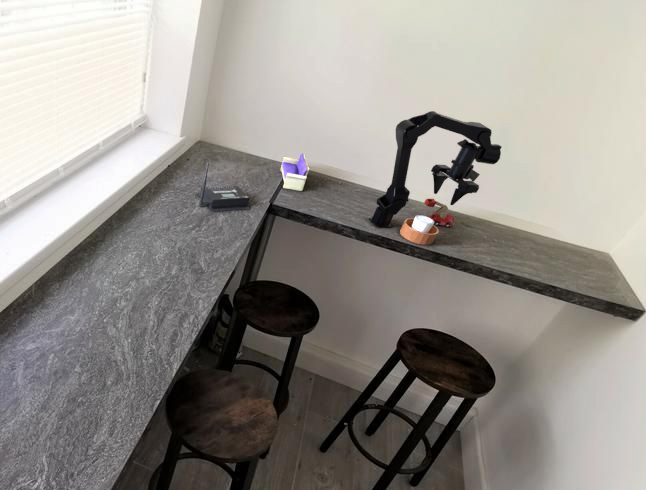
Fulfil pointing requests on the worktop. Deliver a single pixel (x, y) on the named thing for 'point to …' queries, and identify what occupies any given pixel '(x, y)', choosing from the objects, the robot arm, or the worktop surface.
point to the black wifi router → (223, 197)
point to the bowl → (418, 233)
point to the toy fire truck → (435, 216)
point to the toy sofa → (294, 172)
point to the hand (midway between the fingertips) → (443, 199)
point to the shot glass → (422, 223)
